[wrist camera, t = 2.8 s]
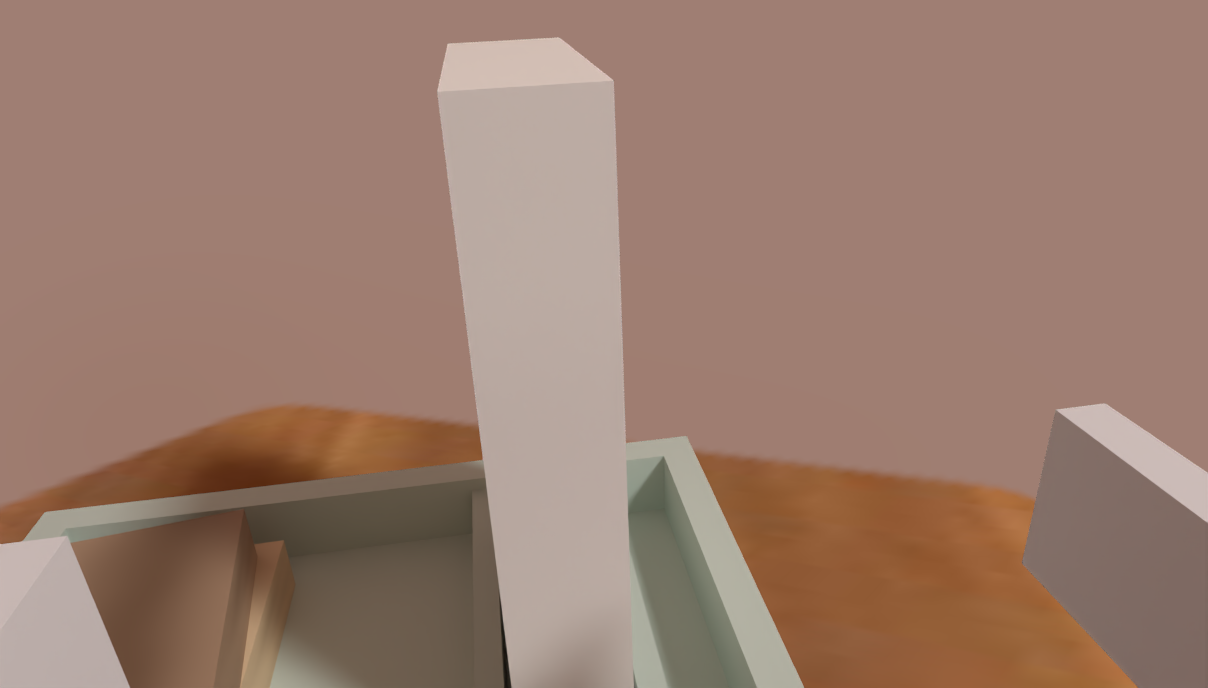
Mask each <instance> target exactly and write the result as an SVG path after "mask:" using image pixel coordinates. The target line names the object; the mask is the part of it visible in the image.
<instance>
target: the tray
mask: <svg viewBox="0 0 1208 688" xmlns="http://www.w3.org/2000/svg"><path fill="white" fill-rule="evenodd" d="M626 466H627V496H628V526H629V557H630V587H631V617H632V647H633V677H634V688H804V686H803V684H802V682H801V680H800V678H799V676H798V674H797V671H796V669H795V667H794V665H793V663H792V661H791V659H790V656H789V654H788V652H787V650H786V648H785V646H784V644H783V641H782V639H781V637H780V635H779V633H778V631H777V629H776V626H775V624H774V622H773V620H772V618H771V616H770V614H769V611H768V609H767V607H766V605H765V603H764V601H763V599H762V596H761V594H760V592H759V590H758V588H757V586H756V584H755V582H754V579H753V577H752V575H751V573H750V571H749V569H748V567H747V564H746V562H745V560H744V558H743V556H742V554H741V552H740V549H739V547H738V545H737V543H736V541H735V539H734V537H733V534H732V532H731V530H730V528H729V526H728V524H727V522H726V519H725V517H724V515H723V513H722V511H721V509H720V507H719V504H718V502H717V500H716V498H715V496H714V494H713V492H712V489H711V487H710V485H709V483H708V481H707V479H706V477H705V474H704V472H703V470H702V468H701V466H700V464H699V462H698V459H697V457H696V455H695V453H694V451H693V449H692V447H691V445H690V442H689V440H688V438H687V436H683V437H674V438H666V439H658V440H649V441H641V442H632V443H626ZM241 509H244V511H245V514H246V518H247V521H248V525H249V528H250V532H251V535H252V539H253V542H254V544H260V543H267V542H274V541H282V540H284V543H285V546H286V550H287V554H288V558H289V561H290V565H291V569H292V573H293V576H294V580H295V584H296V585H295V589H294V593H293V597H292V601H291V605H290V609H289V613H288V617H287V621H286V625H285V629H284V633H283V636H282V640H281V644H280V648H279V652H278V656H277V660H276V664H275V668H274V672H273V676H272V680H271V684H270V688H512V687H511V679H510V671H509V663H508V655H507V647H506V639H505V631H504V623H503V615H502V607H501V599H500V591H499V583H498V575H497V567H496V559H495V550H494V542H493V534H492V526H491V518H490V510H489V502H488V494H487V486H486V478H485V470H484V462H483V460H481V461H472V462H464V463H455V464H447V465H438V466H430V467H422V468H413V469H405V470H396V471H388V472H380V473H371V474H363V475H354V476H346V477H337V478H329V479H321V480H312V481H304V482H295V483H287V484H279V485H270V486H262V487H253V488H245V489H236V490H228V491H220V492H211V493H203V494H194V495H186V496H178V497H169V498H161V499H152V500H144V501H135V502H127V503H119V504H110V505H102V506H93V507H85V508H76V509H68V510H60V511H51V512H45V513H44V514H43V515H42V517H41V518H40V519H39V521H38V522H37V523H36V524H35V526H34V527H33V528H32V530H31V531H30V532H29V534H28V535H27V536H26V538H25V539H24V540H23V541H31V540H39V539H47V538H54V537H62V536H67V537H68V539H69V541H70V543H73V542H78V541H83V540H88V539H93V538H98V537H103V536H109V535H114V534H119V533H124V532H129V531H134V530H139V529H144V528H149V527H154V526H160V525H165V524H170V523H175V522H180V521H185V520H190V519H195V518H200V517H205V516H211V515H216V514H221V513H226V512H231V511H236V510H241ZM23 541H22V542H23Z"/></svg>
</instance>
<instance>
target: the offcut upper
mask: <svg viewBox="0 0 1208 688" xmlns="http://www.w3.org/2000/svg"><path fill="white" fill-rule="evenodd" d="M70 544H71V546H72V549H73V551H74V554H75V556H76V558H77V561H78V563H79V566H80V568H81V570H82V573H83V575H84V578H85V580H86V583H87V585H88V587H89V590H90V592H91V595H92V597H93V599H94V602H95V604H96V607H97V609H98V611H99V614H100V616H101V619H102V621H103V624H104V626H105V628H106V631H107V633H108V636H109V638H110V640H111V643H112V645H113V648H114V650H115V653H116V655H117V657H118V660H119V662H120V665H121V667H122V669H123V672H124V674H125V677H126V679H127V682H128V684H129V686H130V688H240V684H241V677H242V669H243V662H244V655H245V647H246V640H247V632H248V625H249V617H250V610H251V603H252V595H253V588H254V580H255V573H256V565H257V558H258V556H257V553H256V549H255V546H254V542H253V539H252V535H251V532H250V528H249V525H248V521H247V518H246V514H245V511H244V509H241V510H236V511H231V512H226V513H221V514H216V515H211V516H205V517H200V518H195V519H190V520H185V521H180V522H175V523H170V524H165V525H160V526H154V527H149V528H144V529H139V530H134V531H129V532H124V533H119V534H114V535H109V536H103V537H98V538H93V539H88V540H83V541H78V542H73V543H70Z"/></svg>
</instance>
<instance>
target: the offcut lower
mask: <svg viewBox="0 0 1208 688" xmlns="http://www.w3.org/2000/svg"><path fill="white" fill-rule="evenodd" d="M254 546H255V549H256V553H257V556H258V558H257V565H256V573H255V580H254V588H253V595H252V603H251V610H250V617H249V625H248V632H247V640H246V647H245V655H244V662H243V669H242V677H241V684H240V688H270V684H271V680H272V676H273V672H274V668H275V664H276V660H277V656H278V652H279V648H280V644H281V640H282V636H283V633H284V629H285V625H286V621H287V617H288V613H289V609H290V605H291V601H292V597H293V593H294V589H295V585H296V584H295V580H294V576H293V573H292V569H291V565H290V561H289V558H288V554H287V550H286V546H285V543H284V540H282V541H274V542H267V543H260V544H254Z"/></svg>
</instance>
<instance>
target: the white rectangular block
mask: <svg viewBox="0 0 1208 688" xmlns="http://www.w3.org/2000/svg"><path fill="white" fill-rule="evenodd" d="M437 94H438V102H439V110H440V118H441V126H442V134H443V142H444V150H445V158H446V166H447V174H448V182H449V190H450V198H451V206H452V213H453V221H454V229H455V238H456V246H457V254H458V262H459V270H460V277H461V286H462V294H463V302H464V310H465V318H466V326H467V334H468V341H469V350H470V358H471V366H472V374H473V382H474V390H475V398H476V406H477V414H478V422H479V430H480V438H481V446H482V454H483V462H484V470H485V478H486V486H487V494H488V502H489V510H490V518H491V526H492V534H493V542H494V550H495V559H496V567H497V575H498V583H499V591H500V599H501V607H502V615H503V623H504V631H505V639H506V647H507V655H508V663H509V671H510V679H511V687H512V688H634V677H633V647H632V617H631V587H630V557H629V526H628V496H627V466H626V436H625V407H624V377H623V376H624V375H623V346H622V318H621V317H622V316H621V286H620V255H619V226H618V196H617V195H618V194H617V164H616V134H615V107H614V106H615V104H614V80H612V79H611V78H610V77H608V76H607V75H606V74H604V73H603V72H602V71H601V70H600V69H598V68H597V67H596V66H595V65H593V64H592V63H591V62H589V61H588V60H587V59H586V58H585V57H583V56H582V55H581V54H579V53H578V52H577V51H576V50H574V49H573V48H572V47H571V46H569V45H568V44H567V43H565V42H564V41H563V40H562V39H561V38H542V39H525V40H506V41H489V42H472V43H454V44H448V46H447V50H446V54H445V59H444V63H443V68H442V72H441V77H440V82H439V86H438V91H437Z"/></svg>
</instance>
